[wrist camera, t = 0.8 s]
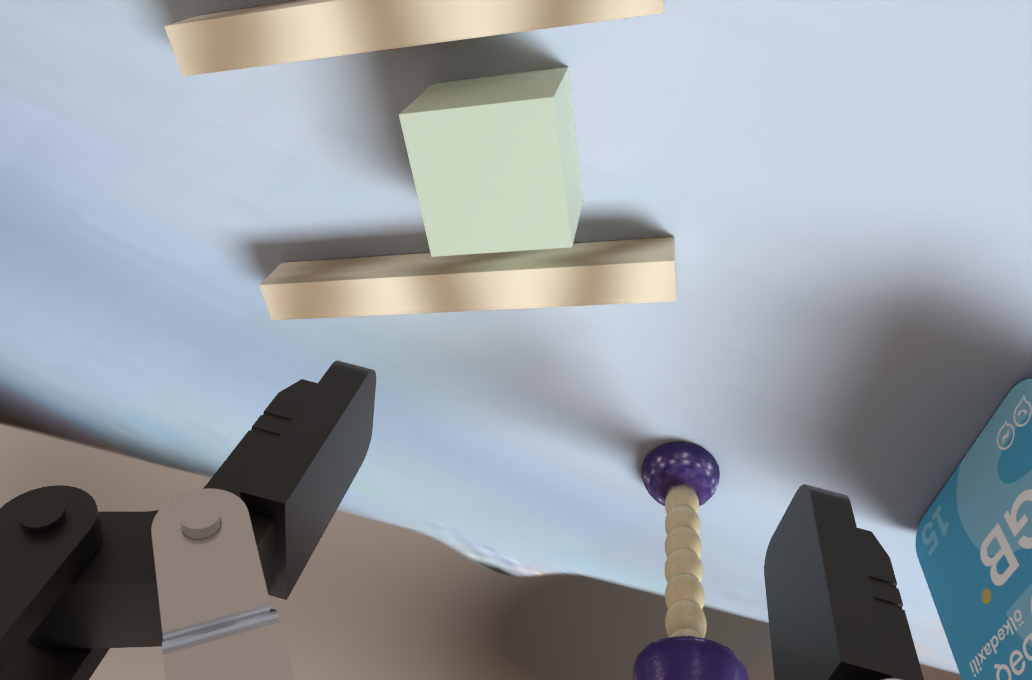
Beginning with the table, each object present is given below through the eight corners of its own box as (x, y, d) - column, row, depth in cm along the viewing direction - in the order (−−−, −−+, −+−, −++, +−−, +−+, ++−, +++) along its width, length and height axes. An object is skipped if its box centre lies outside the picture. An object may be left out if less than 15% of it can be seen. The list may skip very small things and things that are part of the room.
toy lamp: (639, 433, 41) (624, 727, 27) (727, 433, 40) (760, 738, 26) (643, 498, 43) (632, 798, 29) (727, 499, 42) (756, 811, 28)
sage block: (568, 66, 31) (553, 97, 27) (583, 201, 34) (572, 247, 30) (432, 82, 33) (398, 114, 28) (458, 211, 36) (431, 256, 31)
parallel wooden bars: (661, -55, 28) (660, -49, 26) (675, 275, 35) (676, 301, 33) (196, 15, 33) (164, 26, 30) (292, 296, 40) (272, 320, 38)
